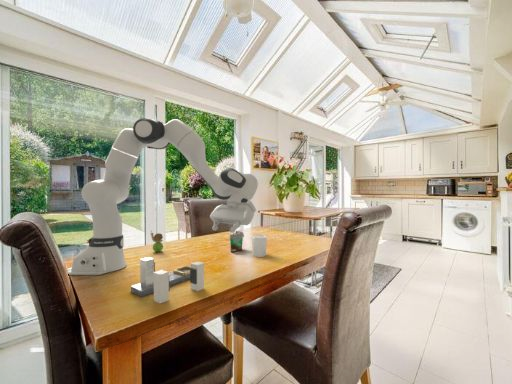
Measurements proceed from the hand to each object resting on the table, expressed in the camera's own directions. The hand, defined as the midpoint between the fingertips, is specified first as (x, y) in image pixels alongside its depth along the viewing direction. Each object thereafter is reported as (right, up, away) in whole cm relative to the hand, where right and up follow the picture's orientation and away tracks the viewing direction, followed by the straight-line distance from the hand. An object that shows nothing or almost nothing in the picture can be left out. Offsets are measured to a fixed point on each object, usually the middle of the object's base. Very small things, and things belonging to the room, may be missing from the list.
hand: (222, 230), depth 98 cm
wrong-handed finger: (-16, -19, -21) cm, 32 cm away
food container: (+4, -18, +40) cm, 44 cm away
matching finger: (-7, -19, -12) cm, 23 cm away
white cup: (+15, -18, +30) cm, 39 cm away
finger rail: (-19, -19, -6) cm, 27 cm away
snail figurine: (-42, -18, +38) cm, 59 cm away
